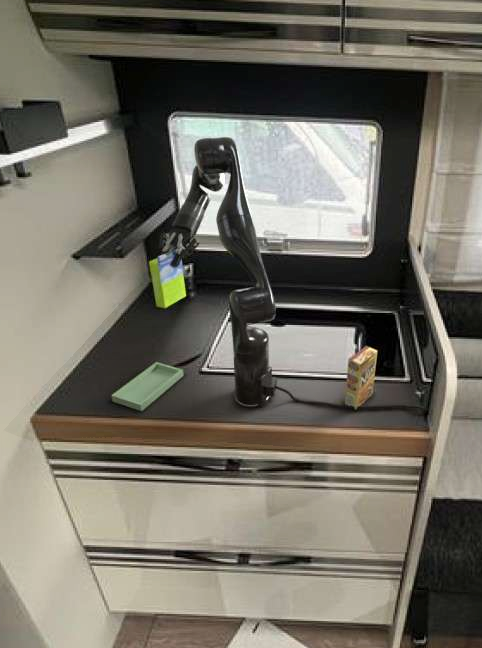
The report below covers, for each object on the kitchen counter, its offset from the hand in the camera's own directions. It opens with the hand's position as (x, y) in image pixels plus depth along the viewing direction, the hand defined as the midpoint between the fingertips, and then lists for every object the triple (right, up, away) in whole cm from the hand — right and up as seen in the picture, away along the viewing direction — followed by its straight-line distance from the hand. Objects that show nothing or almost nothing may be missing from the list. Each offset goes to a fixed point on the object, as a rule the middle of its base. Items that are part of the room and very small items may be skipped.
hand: (167, 264), depth 125 cm
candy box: (+60, -39, -11) cm, 72 cm away
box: (-1, -12, +5) cm, 13 cm away
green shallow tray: (+1, -35, -13) cm, 38 cm away
